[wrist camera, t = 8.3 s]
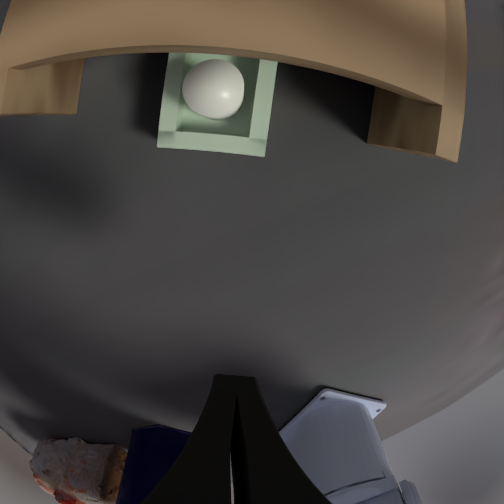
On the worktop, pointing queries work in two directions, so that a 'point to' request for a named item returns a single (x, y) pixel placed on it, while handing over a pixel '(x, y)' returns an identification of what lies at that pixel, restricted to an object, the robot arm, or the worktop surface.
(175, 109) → the tray
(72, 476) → the food item
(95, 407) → the worktop surface
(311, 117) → the worktop surface
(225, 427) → the robot arm
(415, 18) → the wooden arch bridge
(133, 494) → the bottle
